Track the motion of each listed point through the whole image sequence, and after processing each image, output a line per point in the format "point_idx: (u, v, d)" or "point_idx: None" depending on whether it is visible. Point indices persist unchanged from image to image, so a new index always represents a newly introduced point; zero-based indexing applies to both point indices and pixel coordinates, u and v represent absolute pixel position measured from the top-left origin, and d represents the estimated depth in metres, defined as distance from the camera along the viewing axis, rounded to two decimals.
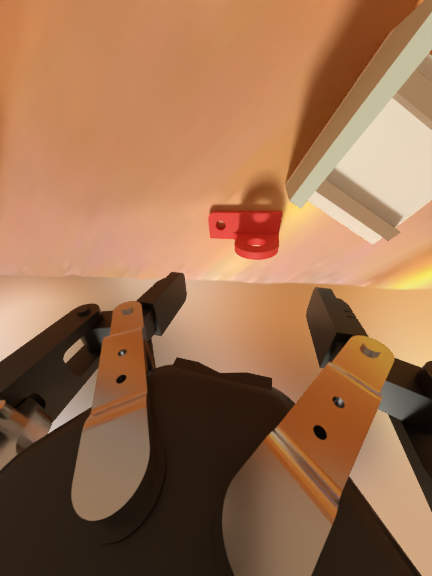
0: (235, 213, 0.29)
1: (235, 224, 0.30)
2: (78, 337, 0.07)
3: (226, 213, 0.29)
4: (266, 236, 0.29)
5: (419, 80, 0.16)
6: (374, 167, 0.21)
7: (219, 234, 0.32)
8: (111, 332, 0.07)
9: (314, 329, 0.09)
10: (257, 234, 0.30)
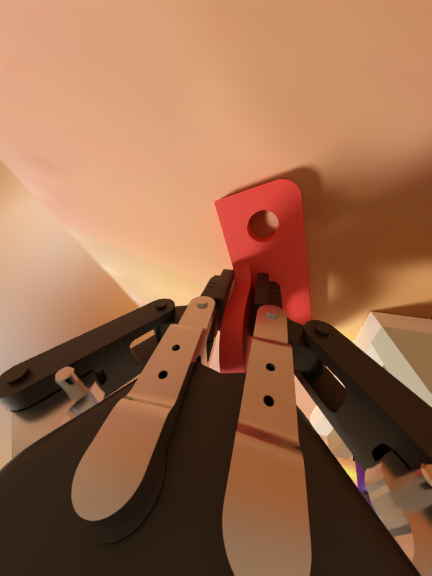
0: (304, 261, 0.11)
1: (274, 267, 0.11)
2: (147, 330, 0.07)
3: (302, 237, 0.10)
4: None
5: None
6: None
7: (235, 229, 0.11)
8: (180, 320, 0.07)
9: None
10: None
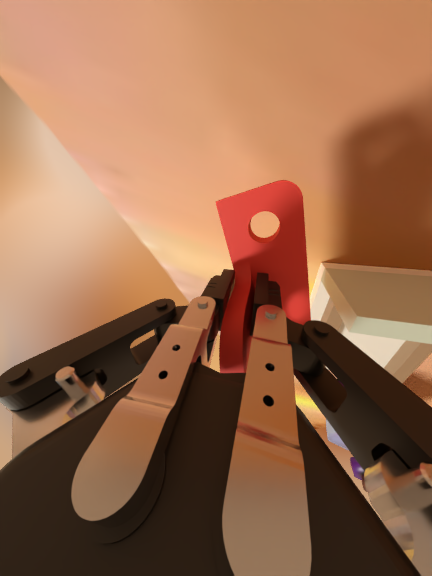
0: (304, 262, 0.11)
1: (274, 268, 0.11)
2: (147, 330, 0.07)
3: (303, 238, 0.10)
4: None
5: None
6: None
7: (236, 229, 0.11)
8: (181, 321, 0.07)
9: None
10: None
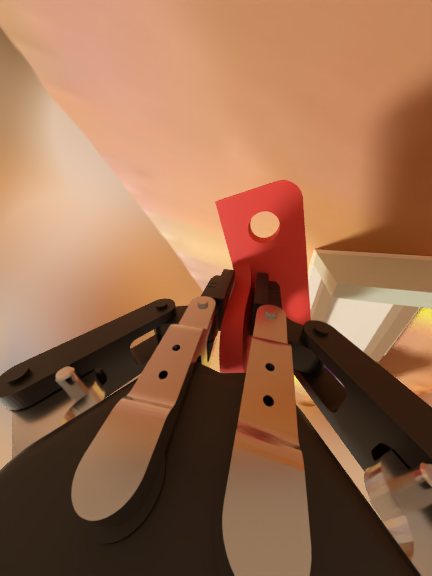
0: (304, 262, 0.11)
1: (274, 268, 0.11)
2: (147, 330, 0.07)
3: (302, 238, 0.10)
4: None
5: None
6: (350, 307, 0.25)
7: (236, 229, 0.11)
8: (181, 320, 0.07)
9: None
10: None
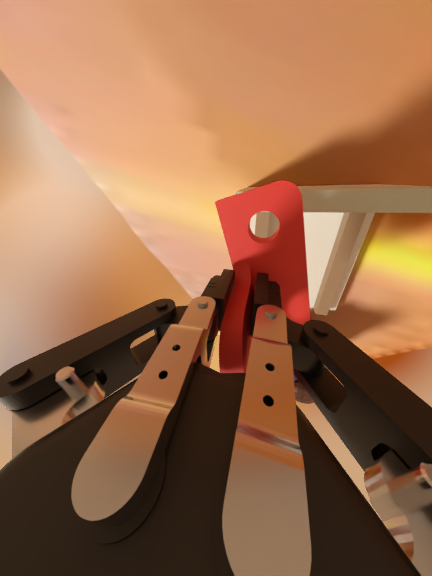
0: (304, 262, 0.11)
1: (273, 268, 0.11)
2: (147, 330, 0.07)
3: (302, 238, 0.10)
4: None
5: (356, 231, 0.19)
6: None
7: (235, 229, 0.11)
8: (181, 321, 0.07)
9: None
10: None
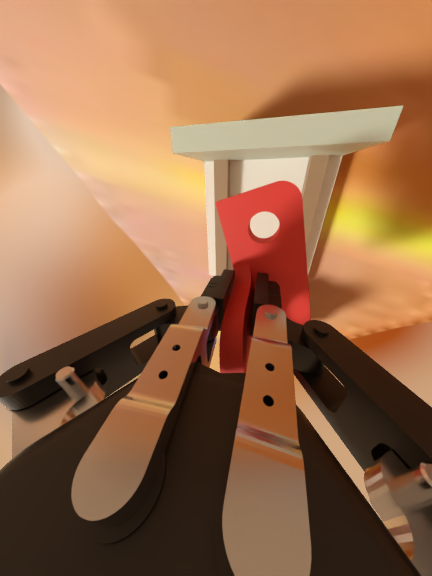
0: (304, 262, 0.11)
1: (274, 268, 0.11)
2: (147, 330, 0.07)
3: (302, 238, 0.10)
4: None
5: (317, 189, 0.18)
6: (256, 220, 0.22)
7: (236, 230, 0.11)
8: (181, 320, 0.07)
9: None
10: None
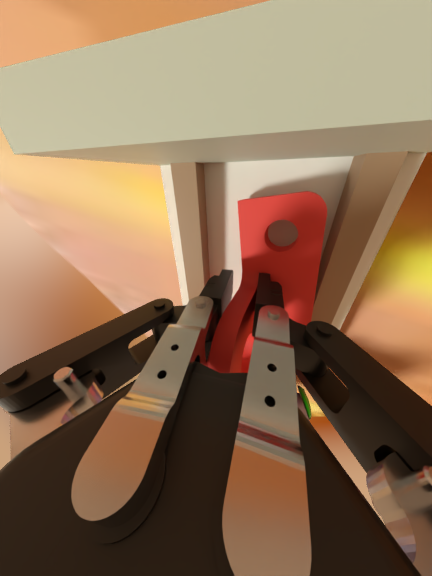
0: (314, 279, 0.10)
1: (282, 278, 0.11)
2: (145, 330, 0.07)
3: (318, 255, 0.10)
4: None
5: (370, 220, 0.09)
6: None
7: (252, 232, 0.11)
8: (179, 320, 0.07)
9: None
10: None
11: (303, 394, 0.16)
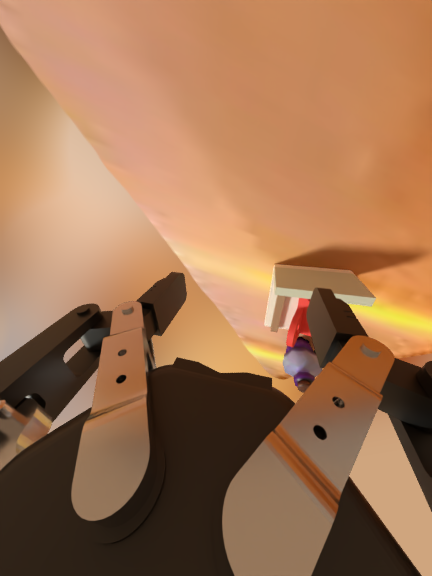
0: None
1: None
2: (78, 337, 0.07)
3: None
4: (299, 329, 0.39)
5: None
6: None
7: None
8: (111, 332, 0.07)
9: (314, 329, 0.09)
10: (301, 322, 0.38)
11: None
